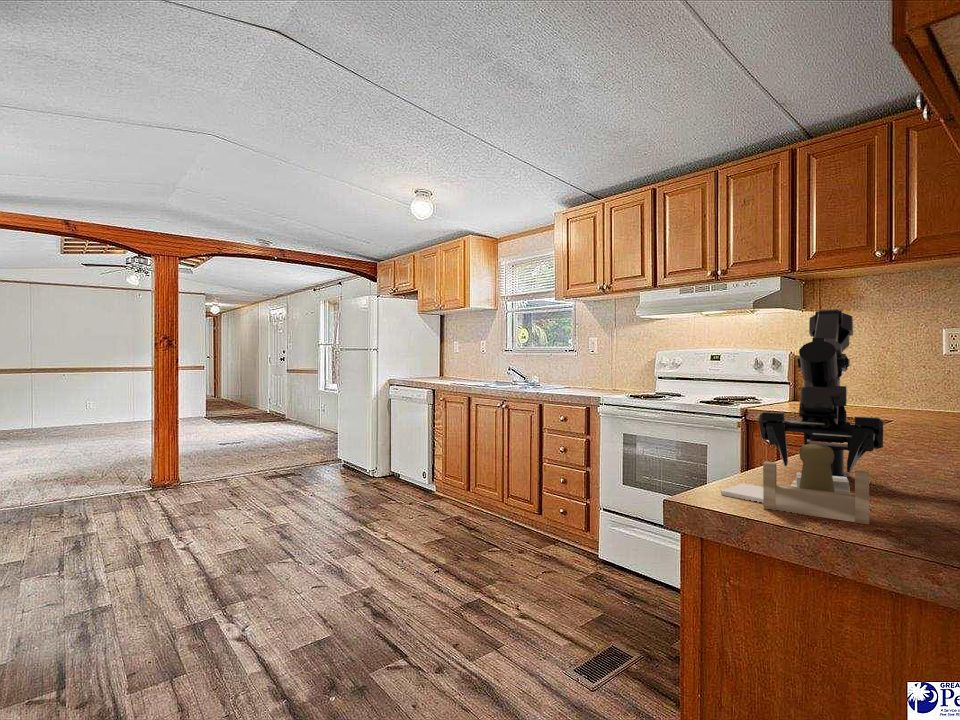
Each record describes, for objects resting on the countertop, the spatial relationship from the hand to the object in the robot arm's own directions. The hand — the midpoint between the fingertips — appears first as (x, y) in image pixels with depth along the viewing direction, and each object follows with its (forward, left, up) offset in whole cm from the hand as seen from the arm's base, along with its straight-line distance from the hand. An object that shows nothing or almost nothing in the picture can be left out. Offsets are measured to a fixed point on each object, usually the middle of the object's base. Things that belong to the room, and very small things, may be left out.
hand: (816, 467), depth 91 cm
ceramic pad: (-1, -11, -7) cm, 13 cm away
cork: (-1, 0, -7) cm, 7 cm away
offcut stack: (-9, -2, -7) cm, 11 cm away
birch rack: (+4, +1, -7) cm, 8 cm away
